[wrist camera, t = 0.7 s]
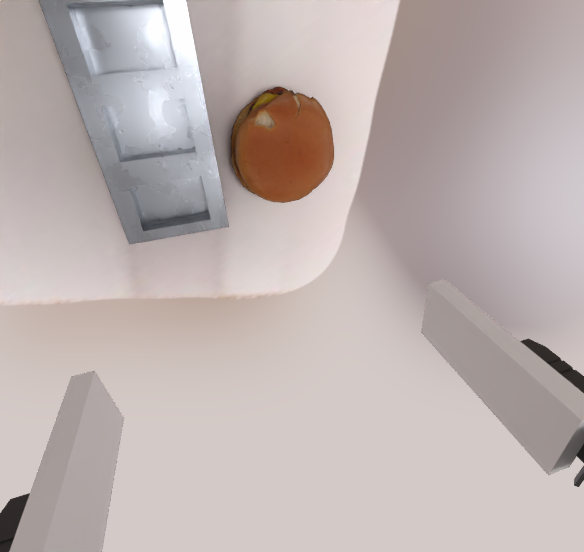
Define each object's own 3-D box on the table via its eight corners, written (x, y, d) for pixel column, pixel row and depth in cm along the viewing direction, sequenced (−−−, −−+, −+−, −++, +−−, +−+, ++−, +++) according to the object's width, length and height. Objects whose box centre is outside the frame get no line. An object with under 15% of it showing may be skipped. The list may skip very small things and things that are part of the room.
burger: (290, 209, 37) (302, 225, 33) (211, 165, 33) (215, 178, 29) (342, 126, 34) (362, 132, 30) (263, 65, 30) (275, 64, 26)
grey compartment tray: (6, -132, 21) (-23, -165, 18) (158, -129, 22) (155, -159, 20) (133, 229, 34) (129, 244, 31) (225, 213, 35) (229, 226, 32)
